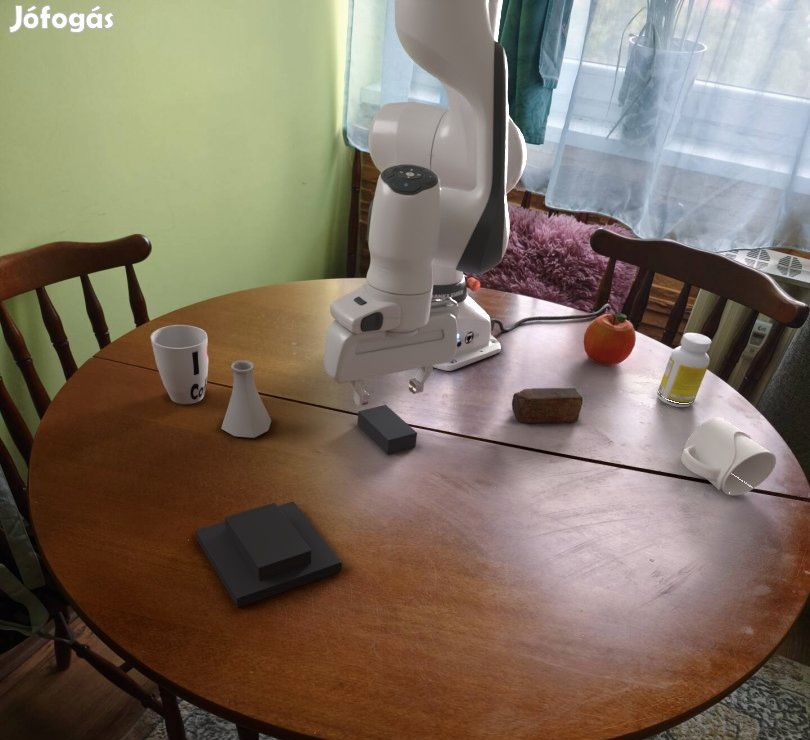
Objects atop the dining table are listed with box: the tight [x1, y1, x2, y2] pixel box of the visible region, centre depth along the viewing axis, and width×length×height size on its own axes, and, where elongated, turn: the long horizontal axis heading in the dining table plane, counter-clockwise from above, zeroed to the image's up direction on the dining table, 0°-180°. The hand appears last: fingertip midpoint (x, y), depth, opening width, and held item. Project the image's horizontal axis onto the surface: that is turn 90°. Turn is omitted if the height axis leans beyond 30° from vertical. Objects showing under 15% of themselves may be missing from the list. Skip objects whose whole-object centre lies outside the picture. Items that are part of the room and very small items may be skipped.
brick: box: [511, 387, 584, 424], centre depth 113 cm, size 11×4×5 cm, turn 100°
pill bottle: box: [657, 332, 712, 408], centre depth 120 cm, size 6×6×12 cm
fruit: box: [582, 311, 637, 366], centre depth 131 cm, size 10×10×10 cm
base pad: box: [194, 501, 343, 609], centre depth 83 cm, size 13×13×2 cm
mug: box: [680, 417, 777, 497], centre depth 102 cm, size 12×9×8 cm
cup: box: [150, 324, 209, 405], centre depth 106 cm, size 8×8×10 cm
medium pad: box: [224, 502, 311, 580], centre depth 81 cm, size 6×10×2 cm, turn 33°
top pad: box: [356, 404, 418, 455], centre depth 105 cm, size 5×9×2 cm, turn 32°
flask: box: [220, 359, 272, 439], centre depth 101 cm, size 7×7×10 cm
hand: (388, 397), depth 101 cm, fingers open, 8 cm apart
